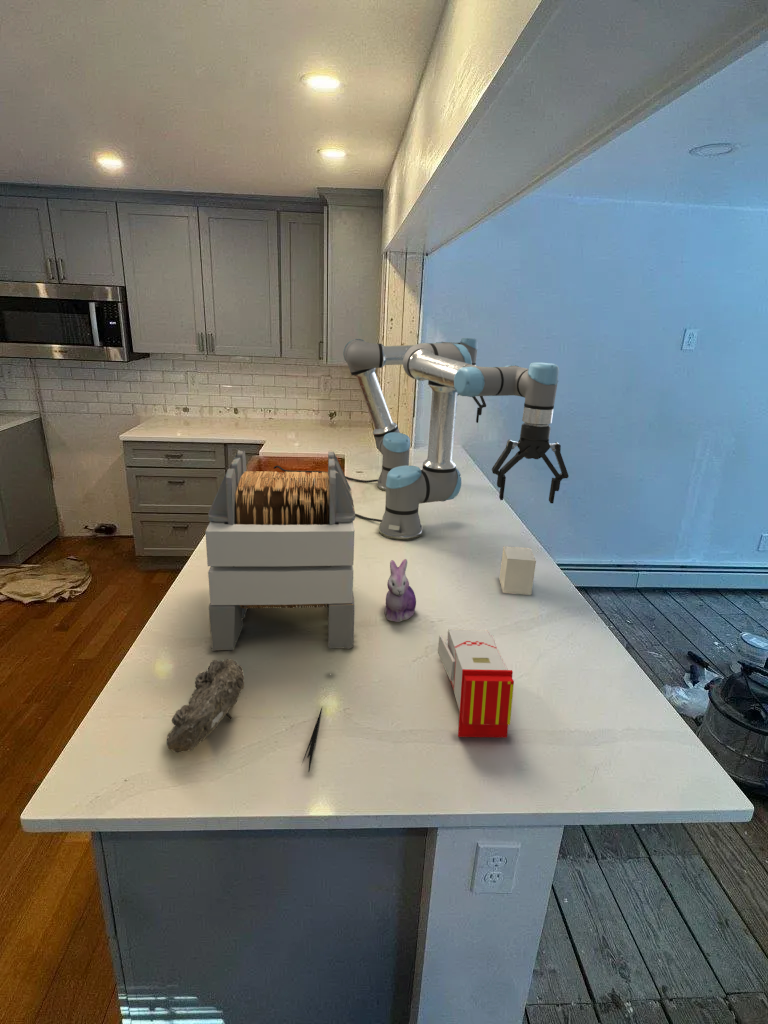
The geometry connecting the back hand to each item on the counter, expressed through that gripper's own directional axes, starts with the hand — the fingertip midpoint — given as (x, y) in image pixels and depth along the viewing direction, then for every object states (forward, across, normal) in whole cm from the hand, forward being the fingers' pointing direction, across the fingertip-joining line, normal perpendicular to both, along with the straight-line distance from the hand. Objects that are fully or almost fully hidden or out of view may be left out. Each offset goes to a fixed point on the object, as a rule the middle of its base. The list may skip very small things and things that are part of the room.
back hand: (462, 421), depth 261 cm
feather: (+27, +35, +174) cm, 179 cm away
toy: (+27, +5, +162) cm, 164 cm away
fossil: (+27, +55, +176) cm, 186 cm away
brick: (+27, -11, +111) cm, 115 cm away
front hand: (0, -11, +111) cm, 112 cm away
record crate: (+27, +50, +136) cm, 147 cm away
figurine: (+27, +21, +132) cm, 136 cm away
